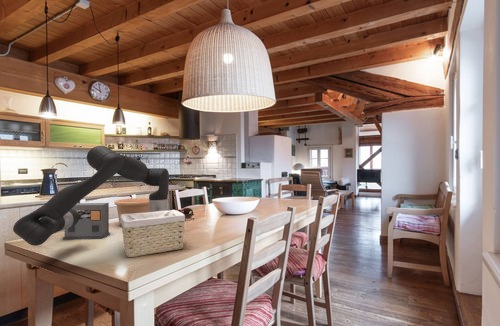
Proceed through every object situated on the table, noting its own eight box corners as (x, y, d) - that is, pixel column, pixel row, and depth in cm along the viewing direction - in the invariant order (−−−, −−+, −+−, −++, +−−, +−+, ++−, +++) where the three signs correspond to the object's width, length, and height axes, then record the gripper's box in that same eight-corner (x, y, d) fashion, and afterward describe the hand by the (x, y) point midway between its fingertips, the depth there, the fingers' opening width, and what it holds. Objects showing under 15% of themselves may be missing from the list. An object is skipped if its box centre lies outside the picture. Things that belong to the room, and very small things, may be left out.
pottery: (106, 228, 156) (106, 202, 156) (125, 220, 178) (125, 197, 178) (145, 229, 155) (145, 202, 155) (160, 221, 177) (160, 198, 177)
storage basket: (123, 259, 105) (123, 220, 106) (119, 248, 120) (119, 213, 120) (186, 250, 117) (186, 214, 117) (176, 240, 131) (176, 209, 131)
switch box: (72, 235, 142) (72, 203, 142) (110, 234, 143) (110, 202, 144) (62, 239, 134) (62, 205, 134) (102, 238, 135) (102, 205, 135)
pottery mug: (195, 218, 188) (196, 208, 184) (189, 227, 180) (190, 217, 176) (179, 213, 190) (179, 203, 186) (172, 222, 182) (172, 212, 178)
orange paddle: (96, 218, 140) (96, 209, 140) (104, 218, 141) (104, 209, 141) (91, 220, 135) (91, 210, 135) (99, 220, 136) (99, 210, 136)
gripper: (80, 209, 110) (101, 203, 127) (44, 210, 109) (70, 203, 127) (80, 229, 110) (101, 219, 127) (45, 229, 109) (70, 220, 127)
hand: (86, 211), depth 127 cm, fingers closed
